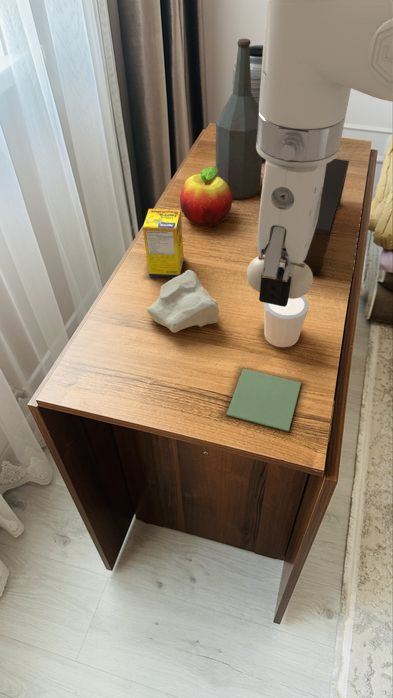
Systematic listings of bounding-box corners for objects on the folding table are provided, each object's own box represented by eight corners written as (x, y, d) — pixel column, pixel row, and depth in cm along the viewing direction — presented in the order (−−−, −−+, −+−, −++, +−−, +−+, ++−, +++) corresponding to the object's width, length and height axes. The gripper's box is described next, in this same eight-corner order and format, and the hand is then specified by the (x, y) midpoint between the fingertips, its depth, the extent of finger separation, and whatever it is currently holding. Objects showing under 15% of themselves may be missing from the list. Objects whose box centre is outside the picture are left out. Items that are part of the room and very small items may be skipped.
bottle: (247, 174, 118) (255, 28, 96) (268, 193, 112) (282, 42, 90) (208, 184, 115) (207, 36, 93) (227, 204, 109) (231, 51, 87)
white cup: (255, 343, 80) (257, 311, 75) (267, 316, 85) (271, 284, 80) (296, 355, 78) (302, 323, 73) (307, 326, 83) (313, 294, 78)
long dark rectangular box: (339, 204, 108) (349, 160, 101) (320, 276, 92) (329, 230, 84) (294, 197, 110) (300, 154, 103) (266, 266, 94) (271, 220, 87)
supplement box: (183, 259, 96) (181, 208, 88) (180, 278, 92) (177, 228, 84) (153, 257, 97) (148, 207, 89) (148, 277, 93) (142, 226, 85)
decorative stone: (136, 312, 84) (158, 257, 81) (173, 317, 91) (194, 266, 88) (178, 343, 77) (203, 284, 75) (214, 345, 84) (238, 291, 82)
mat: (301, 383, 75) (301, 382, 74) (288, 431, 69) (288, 430, 69) (243, 369, 77) (243, 368, 76) (226, 415, 71) (226, 414, 71)
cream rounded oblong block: (313, 286, 59) (319, 255, 56) (306, 310, 56) (312, 279, 53) (250, 273, 61) (253, 243, 58) (241, 296, 58) (243, 265, 55)
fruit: (172, 227, 104) (169, 182, 96) (194, 201, 110) (192, 158, 103) (219, 238, 100) (220, 193, 93) (239, 211, 107) (241, 167, 100)
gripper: (325, 184, 38) (295, 346, 52) (353, 101, 49) (322, 253, 63) (232, 170, 40) (226, 330, 54) (278, 93, 51) (264, 242, 64)
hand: (278, 287), depth 58 cm, fingers closed on cream rounded oblong block, 4 cm apart
